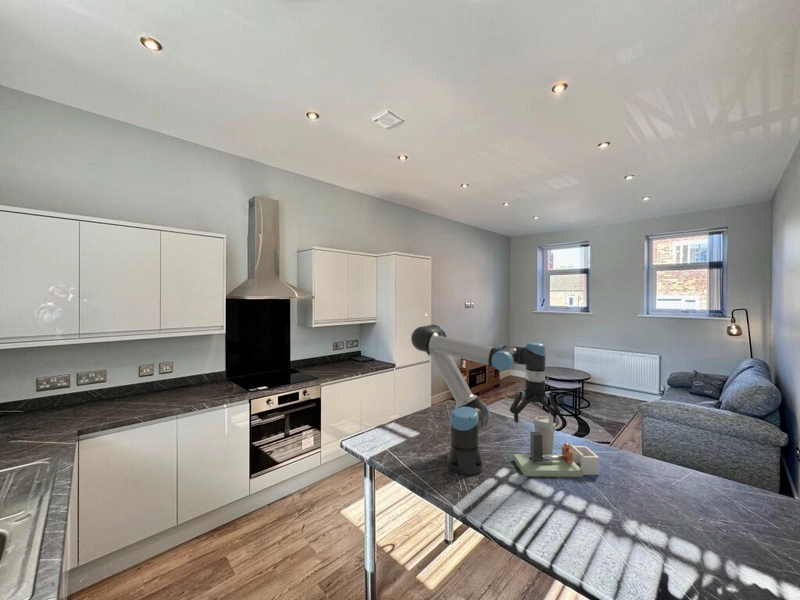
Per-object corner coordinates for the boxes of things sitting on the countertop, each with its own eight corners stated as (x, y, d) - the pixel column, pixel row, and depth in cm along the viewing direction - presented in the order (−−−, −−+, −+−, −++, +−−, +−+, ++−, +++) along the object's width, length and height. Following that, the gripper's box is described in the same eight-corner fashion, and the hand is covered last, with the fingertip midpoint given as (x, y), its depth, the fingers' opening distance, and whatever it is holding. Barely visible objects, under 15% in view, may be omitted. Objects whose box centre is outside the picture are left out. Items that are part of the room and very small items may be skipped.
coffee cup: (551, 447, 150) (550, 415, 150) (559, 457, 140) (559, 423, 141) (530, 446, 151) (530, 415, 151) (537, 456, 141) (537, 423, 141)
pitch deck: (524, 476, 126) (524, 470, 126) (514, 459, 139) (513, 454, 139) (582, 476, 125) (582, 470, 125) (567, 460, 138) (567, 454, 138)
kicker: (534, 463, 129) (534, 436, 129) (529, 456, 135) (529, 430, 135) (573, 464, 128) (573, 436, 128) (566, 457, 134) (566, 431, 134)
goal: (581, 474, 126) (581, 455, 126) (570, 462, 136) (569, 444, 136) (599, 474, 126) (598, 455, 126) (586, 462, 135) (585, 444, 135)
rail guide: (532, 463, 130) (532, 461, 130) (529, 458, 134) (529, 456, 134) (552, 464, 129) (552, 461, 129) (548, 458, 134) (548, 456, 134)
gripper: (507, 381, 129) (507, 432, 129) (569, 383, 128) (569, 434, 128) (502, 376, 136) (502, 425, 136) (561, 378, 135) (560, 427, 135)
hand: (534, 430), depth 132 cm, fingers open, 13 cm apart
